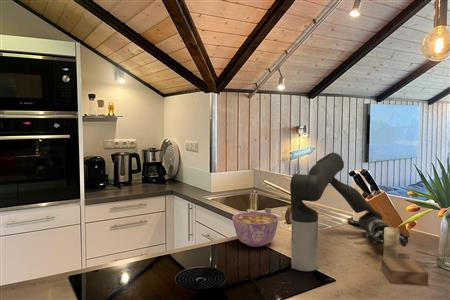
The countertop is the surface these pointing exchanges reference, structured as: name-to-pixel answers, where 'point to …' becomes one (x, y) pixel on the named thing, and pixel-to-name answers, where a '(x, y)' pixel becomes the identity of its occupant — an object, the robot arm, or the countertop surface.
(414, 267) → the walnut base
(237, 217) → the bowl of food
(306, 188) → the robot arm
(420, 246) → the countertop surface
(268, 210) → the flask
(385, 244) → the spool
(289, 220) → the tin
